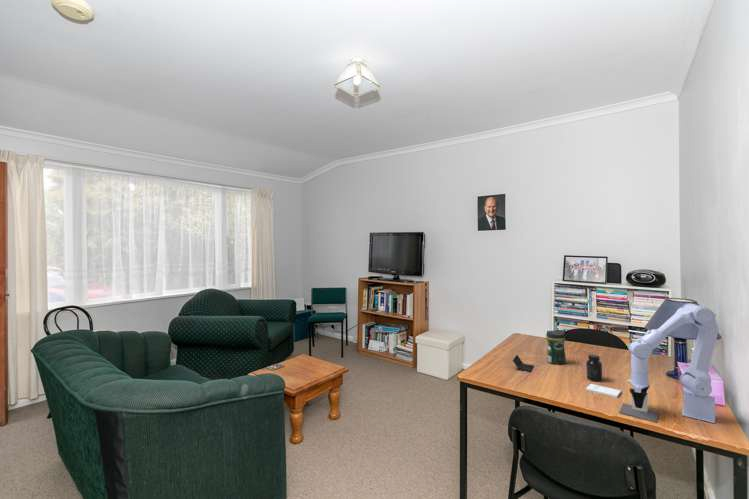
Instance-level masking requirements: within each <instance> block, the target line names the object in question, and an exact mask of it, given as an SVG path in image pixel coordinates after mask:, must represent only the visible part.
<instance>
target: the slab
mask: <svg viewBox="0 0 749 499" xmlns="http://www.w3.org/2000/svg"><path fill="white" fill-rule="evenodd" d="M646 393H647V395H646V397H645V398H644V402H643V407H642V409H641V408H637V407H635V403H634V399H633V396H632V395H631V405H632V409H635V410H640V411H644V412H648V409H649V394H648V392H646Z"/></svg>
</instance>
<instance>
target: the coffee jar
mask: <svg viewBox="0 0 749 499" xmlns="http://www.w3.org/2000/svg"><path fill="white" fill-rule="evenodd" d="M545 336H546V340H547V351H546V361H547V362H548V364H552V365H564V364H566V363H567V360H566V353H565V351H566V350H565V341H566V335H565V332H564V331H562V330H547V331H546V334H545Z"/></svg>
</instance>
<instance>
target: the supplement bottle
mask: <svg viewBox="0 0 749 499" xmlns="http://www.w3.org/2000/svg"><path fill="white" fill-rule="evenodd" d="M587 357H588V360H586V361H585V362H586V379H587V380H589V381H591V382H597V383H598V382H602V381H603V363H602V361H600V360H601V359H600V356H599V355H597V354H588V356H587Z"/></svg>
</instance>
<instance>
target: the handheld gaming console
mask: <svg viewBox="0 0 749 499" xmlns="http://www.w3.org/2000/svg"><path fill="white" fill-rule="evenodd" d="M512 363H514V364H515V366H516V367H517V369H518V371H519V370H521V371H520V372H524V371H527V372H526V373H531V372H532V371H531V370H533V369H534V364H528V363H524V362H523V361H522V359H521V358H520V357H519V355H518V354H516V355H515V356H514V358H513V359H512ZM532 368H533V369H532Z"/></svg>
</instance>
